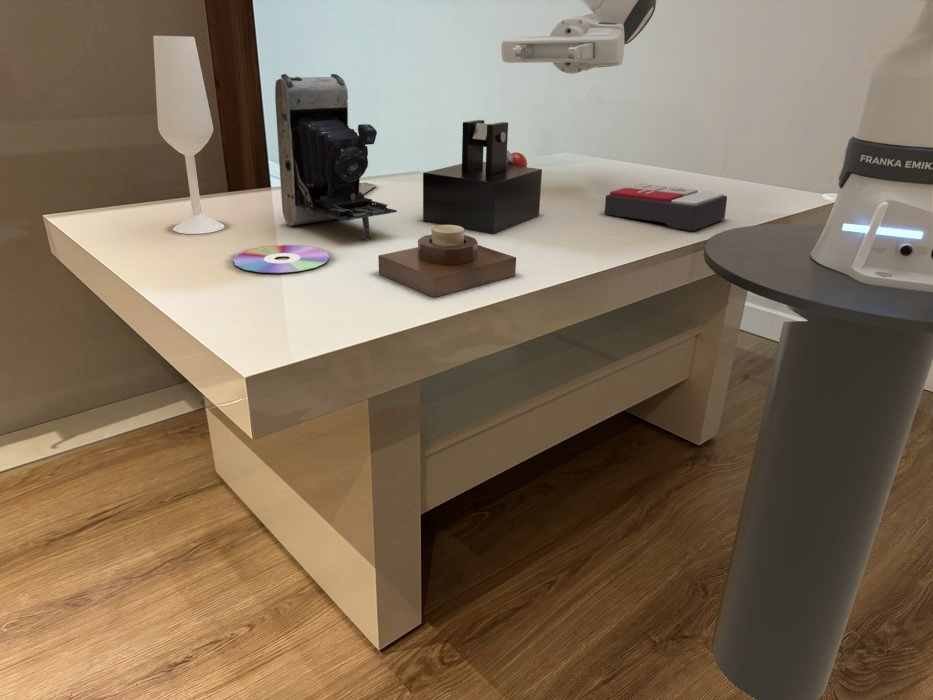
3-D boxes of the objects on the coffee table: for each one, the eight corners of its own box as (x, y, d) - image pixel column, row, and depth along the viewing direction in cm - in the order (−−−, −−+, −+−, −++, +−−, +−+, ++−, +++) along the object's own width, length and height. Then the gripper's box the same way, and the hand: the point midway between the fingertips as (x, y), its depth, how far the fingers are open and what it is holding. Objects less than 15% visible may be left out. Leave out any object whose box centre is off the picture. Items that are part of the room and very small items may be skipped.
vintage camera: (340, 251, 89) (338, 84, 81) (279, 223, 99) (271, 72, 91) (400, 240, 96) (404, 84, 87) (337, 214, 106) (335, 72, 97)
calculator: (640, 181, 116) (729, 190, 107) (638, 207, 118) (725, 219, 108) (604, 190, 109) (696, 201, 99) (603, 218, 110) (693, 231, 101)
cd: (331, 245, 90) (331, 244, 90) (328, 272, 80) (328, 271, 80) (240, 246, 88) (240, 245, 88) (225, 274, 78) (225, 273, 78)
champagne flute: (207, 235, 93) (182, 37, 83) (162, 231, 94) (132, 35, 84) (234, 223, 99) (213, 37, 89) (191, 220, 100) (166, 35, 90)
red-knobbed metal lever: (507, 177, 113) (513, 156, 113) (526, 180, 111) (533, 158, 111) (466, 142, 100) (473, 118, 100) (488, 144, 99) (495, 120, 99)
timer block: (458, 255, 87) (458, 224, 86) (515, 275, 81) (517, 241, 79) (378, 274, 80) (377, 239, 78) (434, 297, 73) (434, 260, 72)
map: (379, 188, 127) (379, 182, 126) (338, 206, 108) (338, 200, 107) (353, 186, 127) (352, 181, 127) (307, 204, 109) (307, 198, 108)
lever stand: (473, 204, 114) (475, 115, 108) (539, 215, 108) (545, 121, 103) (422, 221, 103) (422, 122, 98) (493, 233, 97) (497, 130, 92)
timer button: (449, 238, 81) (449, 223, 80) (470, 244, 79) (470, 229, 78) (425, 243, 79) (425, 227, 78) (445, 250, 76) (446, 234, 76)
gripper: (519, 27, 124) (484, 33, 114) (633, 23, 115) (606, 30, 105) (520, 65, 127) (486, 75, 117) (631, 64, 118) (605, 75, 108)
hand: (544, 54), depth 111 cm, fingers open, 8 cm apart
